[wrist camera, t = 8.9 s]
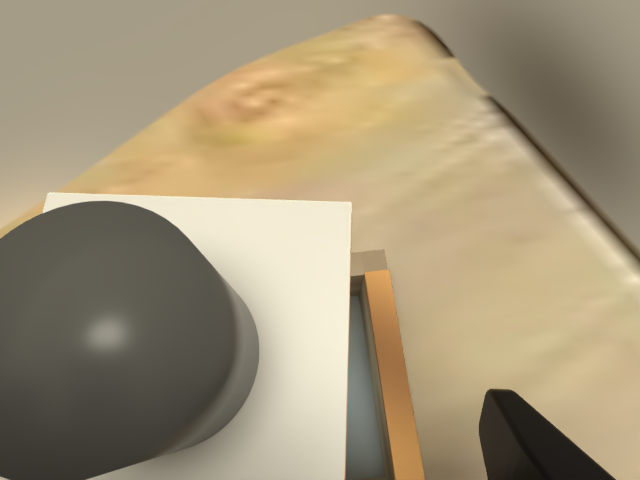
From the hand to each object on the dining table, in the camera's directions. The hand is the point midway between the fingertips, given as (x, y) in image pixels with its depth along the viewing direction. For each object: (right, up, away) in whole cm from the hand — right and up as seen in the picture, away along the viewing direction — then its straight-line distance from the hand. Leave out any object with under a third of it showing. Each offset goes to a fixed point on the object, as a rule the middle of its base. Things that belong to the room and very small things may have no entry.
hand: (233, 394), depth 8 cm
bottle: (0, -3, +8) cm, 9 cm away
